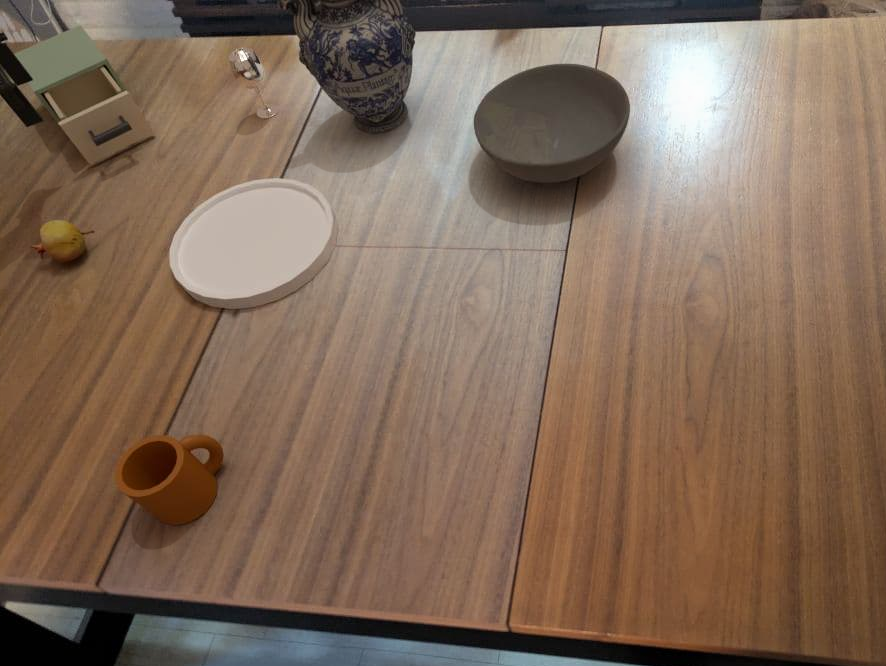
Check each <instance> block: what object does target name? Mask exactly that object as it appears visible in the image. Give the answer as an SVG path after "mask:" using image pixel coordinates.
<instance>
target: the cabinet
mask: <svg viewBox="0 0 886 666" xmlns="http://www.w3.org/2000/svg"><path fill="white" fill-rule="evenodd" d="M14 55H15V56H16V57H17V59H18V60H19V61H20V63H21V64H22V65H23V66H24V68H25V69H26V70H27V72H28V73H29V74H30V76H31V77H32V78H33V81H30V82H27V83H26V84H28V86H29V88H30V89H31V91H32V92H33V94H34V95H35V96H36V98H37V99H38V100H39V101H40V102H41V104H42V105H43V106H44V108H45V109H46V110H47V112H48V113H49V114H50V115H51V116H52V118H53V119H54V121H55V122H56V123H57V124H58V122H60V121H61V119H60V118H59V116H58V115H57V113H56V112H55V110H54V109H53V107H52V106H51V104H50V102H49V101H48V99H47V98H46V96H45V95H44V93H43V92H45V91H47V90H50V89H52V88H54V87H56V86H58V85H61V84H63V83H65V82H67V81H69V80H72V79H74V78H76V77H78V76H80V75H83V74H85V73H87V72H89V71H91V70H94V69H96V68H98V67H100V66H102V65H103V66H104V68H105V69H106V70H107V72H108V73H109V74H110V76H111V77H112V78H113V80H114V81H115V82H116V83H117V85H118V86H119V87H120V89H121V90H122V91H123V92H124V91H126V90H127V91H128V89H127V88H126V86H125V85H124V83H123V81H122V80H121V79H120V77H119V76H118V73H117V71H115V69H114V68H113V66H112V64H111V63H110V61H109V60H108V58H107V57H106V56H105V54H103V52H102V51H101V50H100V48H99V47H98V46H97V44H96V43H95V42H94V41H93V39H92V38H91V36H90V35H89V34H88V33H87V32H86V30H85V29H84V28H83V26H82V25H81V24H79V25H77V26H74V27H72V28H70V29H68V30H65V31H63V32H61V33H59V34H56V35H54V36H52V37H50V38H47V39H44V40H43V41H40V42H38V43H36V44H33V45H31V46H29V47H27V48H24V49H22V50H19V51H17V52H15V53H14ZM128 93H129V94H130V92H129V91H128ZM130 96H131V94H130ZM131 97H132V96H131ZM132 99H133V100H134V98H133V97H132Z"/></svg>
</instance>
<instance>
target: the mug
mask: <svg viewBox="0 0 886 666" xmlns="http://www.w3.org/2000/svg"><path fill="white" fill-rule="evenodd" d="M198 449H203V450H206V451H208V453H209V456H208V459H207V460H206V461H205V463H202V461H201V460H199V458H197V457H196V455H195V454H193V453H192V451H194V450H198ZM224 455H225V453H224V449H223V447H222V445H221V443H220V442H218V440H217V439H216V438H214V437H212V436H209V435H207V434H200V433H199V434H192V435H188V436H185V437H183V438H181V439H180V440H178V439H177V438H174V437H173V436H171V435H165V434H157V435H151V436H148V437H146V438H142V439H141V440H138V441H137V442H136V443H135V444H133V445H131V446H130V447H129V448H128V449H127V450H126V452H124V453H123V455H122V456H121V457H120V459H119V461H118V463H117V465H116V468H115V472H114V480H115V481H114V482H115V485H116V486H117V489H119V491H120V492H121V493H123V494H124V495H125V496H126V497H128V498H129V499H130V500H132V501H133V502H135V503H136V504H137V505H139V506H140V507H142V508H143V509H144V510H146V511H147V512H149V513H150V514H151V515H153V516H154V517H155V518H157V519H158V520H160V521H162V522H163V523H165V524H167V525H173V526H179V525H184V524H188V523H190V522H193V521H195V520H197V519H198V518H199V517H201V516H203V514H205V513H206V512H207V511H208V509H209V508H210V507H211V506H212V505H213V503H214V501H215V498H216V496H217V492H218V486H219V485H218V481H217V477H216V476H215V474H216V473H217V472H218V471H219V470H220V468H221V467H222V464H223V462H224Z"/></svg>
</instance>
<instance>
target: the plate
mask: <svg viewBox="0 0 886 666" xmlns="http://www.w3.org/2000/svg"><path fill="white" fill-rule="evenodd" d="M338 231H339V229H338V225H337V219H336V215H335V214H334V211H333V209H332V206H331V205H330V203H329V201H328V200H327V199H326V197H325V196H324V194H323V193H322V192H321V191H319V190H317V189H316V188H314V187H313V186H312V185H310V184H307V183H304V182H302V181H299V180H296V179H288V178H280V177H279V178H277V177H274V178H273V177H272V178H271V177H270V178H262V179H254V180H250V181H247V182H243V183H240V184H236V185H233V186H231V187H229V188H227V189H225V190H222V191H220V192H218V193H216V194H214V195H213V196H211V197H210V198H208V199H207V200H205V201H203V202H202V203H201V204H199V205H198V206H196V207H195V208H194V210H193V211H191V212H190V213H189V215H187V216H186V217H185V218H184V219H183V221H182V223H181V224H180V226H179V227H178V229H177V230H176V231H175V233H174V235H173V237H172V242H171V244H170V248H169V252H168V253H169V254H168V255H169V267H170V269H171V271H172V273H173V276H174V278H175V280H176V281H177V282H178V283H179V285H180V286H181V287H182V289H183V290H184V291H185V292H187V294H189V295H190V297H192V298H193V299H194V300H196V301H198V302H200V303H203V304H205V305H207V306H210V307H211V308H212V307H213V308H219V309H228V310H237V309H239V310H240V309H249V308H256V307H259V306H263V305H267V304H269V303H270V304H271V303H273V302H277V301H279V300H280V299H282V298H284V297H286V296H289V295H291V294H293V293H294V292H297V291H298V290H299V289H301V288H302V287H304V286H305V285H306V284H307V283H308V282H310V281H311V280H313V279H314V278H315V277H316V276H317V275H318V274H319V272H320V271H322V269H323V268H324V267H325V266H326V264H327V263H328V262H329V260H330V258H331V256H332V254H333V252H334V250H335V248H336V246H337V239H338V233H339V232H338Z"/></svg>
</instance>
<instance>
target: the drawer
mask: <svg viewBox="0 0 886 666" xmlns="http://www.w3.org/2000/svg"><path fill="white" fill-rule="evenodd" d="M128 92H129V90H128V89H127V90H126V91H124V92H123V91H122V90H121V89H120V87H119V86H118V85H117V83H116V82H115V81H114V80H113V78H112V77H111V76H110V74H109V73H108V72H107V70H106V69H105V68H104V66H103V65H102V66H100V67H98V68H96V69H94V70H91V71H89V72H87V73H85V74H83V75H80V76H78V77H76V78H74V79H72V80H69V81H67V82H65V83H63V84H61V85H58V86H56V87H54V88H52V89H50V90H47V91H45V92H43V93H44V95H45V96H46V98H47V99H48V101H49V102H50V104H51V106H52V107H53V109H54V110H55V112H56V113H57V115H58V116H59V118H60V119H61V121H60V122H58V123H57V124H58V126H59V127H60V128H61V129H62V131H63V132H64V134H65V135H66V136H67V137H68V139H69V140H70V141H71V143H72V144H73V145H74V147H76V149H77V150H78V152H79V153H80V154H81V155H82V157H83V158H84V159H85V160H86V162H87V163H88V164H89V165H92V164H95V163H97V162H98V161H101V160H103V159H105V158H107V157H109V156H111V155H113V154H115V153H117V152H119V151H121V150H123V149H126V148H127V147H129V146H132V145H133V144H135V143H137V142H139V141H142V140H143V139H146V138H147V137H150V136H151V135H154V134H155V131H154V129H153V128H152V127H151V125H150V123H149V122H148V120H147V118H146V117H145V115H144V114H143V113H142V111H141V109H140V108H139V107H138V105H137V103H136V102H135V100H134V98H133V97H132V96H130V95H131V94H130V92H129V93H128ZM132 98H133V99H132Z"/></svg>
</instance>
